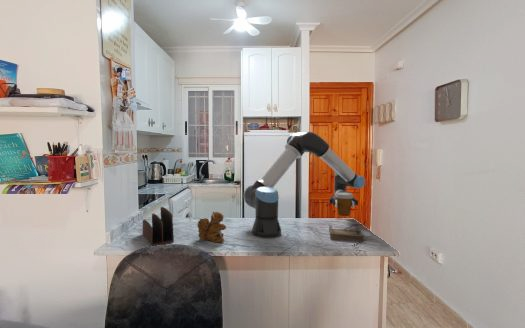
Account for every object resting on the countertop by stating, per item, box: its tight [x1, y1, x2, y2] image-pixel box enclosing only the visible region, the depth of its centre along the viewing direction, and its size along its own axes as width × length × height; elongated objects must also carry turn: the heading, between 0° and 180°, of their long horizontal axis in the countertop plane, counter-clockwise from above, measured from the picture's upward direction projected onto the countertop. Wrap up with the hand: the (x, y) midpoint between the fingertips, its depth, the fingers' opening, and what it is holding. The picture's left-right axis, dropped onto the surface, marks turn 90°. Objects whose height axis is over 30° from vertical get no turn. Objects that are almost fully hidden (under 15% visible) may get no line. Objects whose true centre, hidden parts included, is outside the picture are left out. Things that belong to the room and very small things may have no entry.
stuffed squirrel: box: [197, 211, 227, 243], centre depth 129 cm, size 10×14×13 cm
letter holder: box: [142, 206, 175, 247], centre depth 129 cm, size 10×20×14 cm, turn 35°
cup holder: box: [328, 225, 365, 242], centre depth 137 cm, size 15×15×3 cm
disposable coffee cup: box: [334, 191, 354, 217], centre depth 148 cm, size 10×10×12 cm
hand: (345, 205), depth 143 cm, fingers closed on disposable coffee cup, 8 cm apart
